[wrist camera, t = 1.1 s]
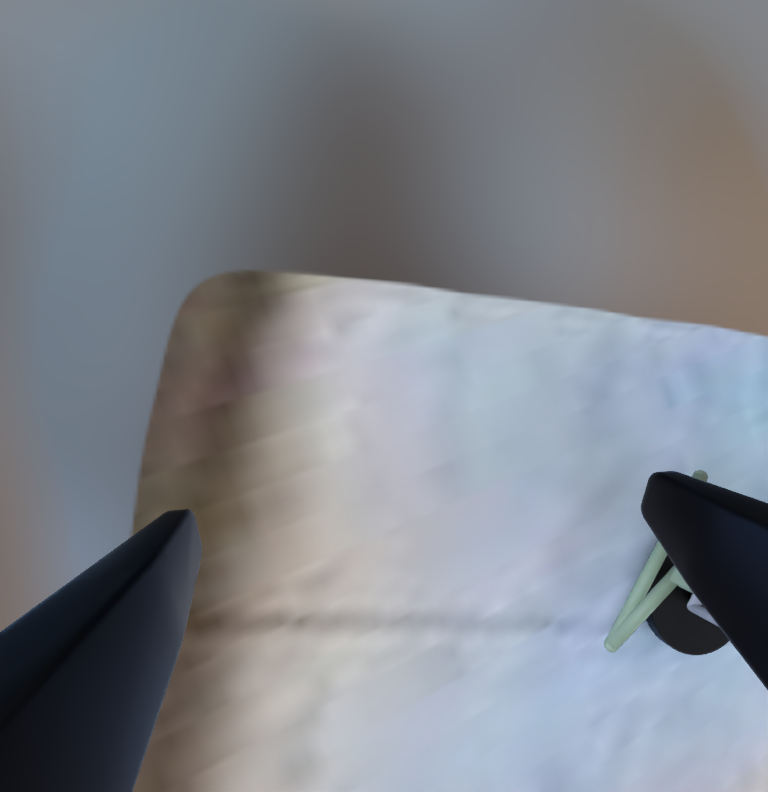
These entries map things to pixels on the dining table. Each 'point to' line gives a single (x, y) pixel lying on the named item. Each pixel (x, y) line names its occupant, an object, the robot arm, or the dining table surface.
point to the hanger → (651, 595)
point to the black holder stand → (683, 622)
